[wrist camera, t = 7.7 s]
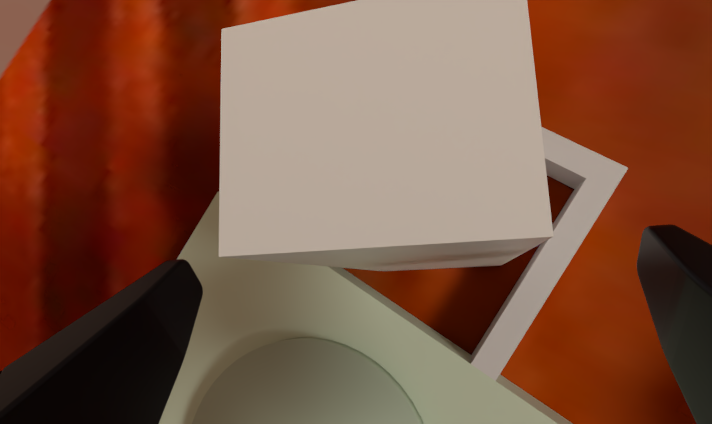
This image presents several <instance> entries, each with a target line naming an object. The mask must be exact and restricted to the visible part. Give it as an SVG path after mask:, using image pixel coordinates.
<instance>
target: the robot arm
mask: <svg viewBox="0 0 712 424" xmlns="http://www.w3.org/2000/svg"><path fill="white" fill-rule="evenodd" d="M637 272H638V276H639V279H640V282H641V285H642V288H643V291H644V294H645V297H646V301H647V304H648V307H649V310H650V313H651V316H652V319H653V322H654V325H655V328H656V331H657V334H658V337H659V340H660V343H661V346H662V349H663V352H664V354H665V357H666V359H667V361H668V363H669V366H670V368H671V370H672V372H673V374H674V377H675V379H676V381H677V383H678V385H679V387H680V389H681V391H682V393H683V396H684V398H685V400H686V402H687V404H688V406H689V408H690V410H691V413H692V415H693V417H694V419H695V421H696V423H697V424H712V245H711V244H709V243H707V242H705V241H703V240H701V239H700V238H698V237H696V236H694V235H692V234H690V233H689V232H687V231H685V230H683V229H681V228H679V227H677V226H675V225H656V226H648V227H646V228H645V229H644V231H643V234H642V238H641V244H640V249H639V254H638V260H637ZM202 296H203V288H202V285H201V283H200V281H199V279H198V277H197V276H196V274H195V272H194V270H193V269H192V267H191V265H190V264H189V262H188V261H186V260H184V259H177V260H168V261H166V262H164V263H162V264H161V265H159V266H158V267H156V268H155V269H153V270H152V271H150V272H149V273H147V274H146V275H144V276H143V277H141V278H140V279H138V280H137V281H135V282H134V283H132V284H131V285H129V286H128V287H126V288H125V289H123V290H122V291H120V292H118V293H117V294H115V295H114V296H112V297H111V298H109V299H108V300H106V301H105V302H103V303H102V304H100V305H99V306H97V307H96V308H94V309H93V310H91V311H90V312H88V313H87V314H85V315H84V316H82V317H81V318H79V319H78V320H76V321H75V322H73V323H72V324H70V325H69V326H67V327H66V328H64V329H63V330H61V331H59V332H58V333H56V334H55V335H53V336H52V337H50V338H49V339H47V340H46V341H44V342H43V343H41V344H40V345H38V346H37V347H35V348H34V349H32V350H31V351H29V352H28V353H26V354H25V355H23V356H22V357H20V358H19V359H17V360H16V361H14V362H13V363H11V364H10V365H8V366H7V367H5V368H4V369H3V371H0V424H159V422H160V419H161V417H162V414H163V412H164V409H165V407H166V404H167V402H168V399H169V396H170V394H171V391H172V389H173V386H174V384H175V381H176V379H177V376H178V374H179V371H180V369H181V366H182V363H183V361H184V358H185V355H186V352H187V348H188V345H189V342H190V338H191V335H192V331H193V328H194V324H195V321H196V317H197V314H198V310H199V307H200V303H201V300H202Z"/></svg>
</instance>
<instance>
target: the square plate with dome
mask: <svg viewBox="0 0 712 424" xmlns="http://www.w3.org/2000/svg"><path fill="white" fill-rule="evenodd" d="M541 129H542V138H543V147H544V156H545V165H546V173H547V176H549V177H551V178H553V179H555V180H557V181H559V182H561V183H563V184H565V185H567V186H569V187H571V188H573V189H574V191H573V192H572V194H571V196H570V197H569V199H568V201H567V202H566V204H565V205H564V207H563V209H562V210H561V212H560V213H559V215H558V217H557V218H556V220H555V221H554V223H553V225H552V227H553V235H554V237H552V238H550V239H548V240H547V241H545V242H543V243H541V244H540V246H539V247H538V249H537V250H536V252H535V254H534V255H533V257H532V258H531V260H530V262H529V263H528V265H527V266H526V268H525V270H524V271H523V273H522V275H521V276H520V278H519V279H518V281H517V283H516V284H515V286H514V287H513V289H512V291H511V292H510V294H509V295H508V297H507V299H506V300H505V302H504V303H503V305H502V307H501V308H500V310H499V312H498V313H497V315H496V316H495V318H494V320H493V321H492V323H491V324H490V326H489V328H488V329H487V331H486V332H485V334H484V336H483V337H482V339H481V341H480V342H479V344H478V345H477V347H476V349H475V350H474V352H473V353H472V355H471V354H469V353H468V352H466V351H465V350H463V349H462V348H460V347H459V346H457V345H456V344H454V343H453V342H451V341H450V340H448V339H447V338H445V337H444V336H442V335H441V334H439V333H438V332H436V331H435V330H434V329H432V328H431V327H429V326H428V325H426V324H425V323H423V322H422V321H420V320H419V319H417V318H416V317H414V316H413V315H411V314H410V313H408V312H407V311H405V310H404V309H402V308H401V307H399V306H398V305H397V304H395V303H394V302H392V301H391V300H389V299H388V298H386V297H385V296H383V295H382V294H380V293H379V292H377V291H376V290H374V289H373V288H371V287H370V286H368V285H367V284H365V283H364V282H362V281H361V280H360V279H358V278H357V277H355V276H354V275H352V274H351V273H349V272H348V271H346V270H345V269H343V268H341V267H329V266H318V265H306V264H295V263H283V262H272V261H260V260H249V259H237V258H226V257H219V192H217V194H216V195H215V197H214V199H213V200H212V202H211V204H210V205H209V207H208V209H207V210H206V212H205V214H204V215H203V217H202V218H201V220H200V222H199V223H198V225H197V227H196V228H195V230H194V232H193V233H192V235H191V237H190V238H189V240H188V241H187V243H186V245H185V246H184V248H183V250H182V251H181V253H180V255H179V256H178V258H177V259H184V260H186V261H188V262H189V264H190V265H191V267H192V269H193V270H194V272H195V274H196V276H197V277H198V279H199V281H200V283H201V285H202V288H203V296H202V300H201V303H200V307H199V310H198V314H197V317H196V321H195V324H194V328H193V331H192V335H191V338H190V342H189V345H188V348H187V352H186V355H185V358H184V361H183V363H182V366H181V369H180V371H179V374H178V376H177V379H176V381H175V384H174V386H173V389H172V391H171V394H170V396H169V399H168V402H167V404H166V407H165V409H164V412H163V414H162V417H161V419H160V422H159V424H573V423H571V422H570V421H568V420H567V419H565V418H564V417H562V416H561V415H559V414H558V413H556V412H555V411H553V410H552V409H550V408H549V407H547V406H546V405H545V404H543V403H542V402H540V401H539V400H537V399H536V398H534V397H533V396H531V395H530V394H528V393H527V392H525V391H524V390H522V389H521V388H519V387H518V386H516V385H515V384H513V383H512V382H510V381H509V380H508V379H506V378H505V377H503V376H502V375H500V373H501V371H502V370H503V368H504V367H505V365H506V363H507V362H508V360H509V359H510V357H511V355H512V354H513V352H514V351H515V349H516V347H517V346H518V344H519V343H520V341H521V339H522V338H523V336H524V335H525V333H526V331H527V330H528V328H529V326H530V325H531V323H532V322H533V320H534V318H535V317H536V315H537V314H538V312H539V310H540V309H541V307H542V306H543V304H544V302H545V301H546V299H547V298H548V296H549V294H550V293H551V291H552V290H553V288H554V286H555V285H556V283H557V282H558V280H559V278H560V277H561V275H562V274H563V272H564V270H565V269H566V267H567V265H568V264H569V262H570V261H571V259H572V257H573V256H574V254H575V253H576V251H577V249H578V248H579V246H580V245H581V243H582V241H583V240H584V238H585V237H586V235H587V233H588V232H589V230H590V229H591V227H592V225H593V224H594V222H595V221H596V219H597V217H598V216H599V214H600V213H601V211H602V209H603V208H604V206H605V204H606V203H607V201H608V200H609V198H610V196H611V195H612V193H613V192H614V190H615V188H616V187H617V185H618V184H619V182H620V180H621V179H622V177H623V176H624V174H625V172H626V171H627V169H628V168H627V167H625V166H623V165H621V164H619V163H617V162H615V161H612V160H610V159H608V158H606V157H604V156H602V155H600V154H598V153H596V152H593V151H591V150H589V149H587V148H585V147H583V146H581V145H579V144H576V143H574V142H572V141H570V140H568V139H566V138H564V137H562V136H560V135H557V134H555V133H553V132H551V131H549V130H547V129H545V128H543V127H541Z"/></svg>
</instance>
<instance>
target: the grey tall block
mask: <svg viewBox="0 0 712 424" xmlns="http://www.w3.org/2000/svg"><path fill="white" fill-rule="evenodd" d="M552 237H554V235H553V227H552V218H551V209H550V200H549V191H548V182H547V173H546V165H545V156H544V147H543V138H542V129H541V120H540V112H539V103H538V94H537V85H536V76H535V67H534V58H533V50H532V41H531V32H530V23H529V14H528V5H527V0H357V1H352V2H348V3H343V4H338V5H333V6H329V7H324V8H319V9H314V10H310V11H305V12H300V13H295V14H291V15H286V16H281V17H276V18H272V19H267V20H262V21H257V22H253V23H248V24H243V25H239V26H234V27H229V28H224V29H222V34H221V111H220V188H219V257H226V258H237V259H249V260H260V261H272V262H283V263H295V264H306V265H318V266H329V267H341V268H352V269H364V270H376V271H398V270H420V269H442V268H463V267H485V266H501V265H503V264H505V263H507V262H509V261H510V260H512V259H514V258H516V257H518V256H519V255H521V254H523V253H525V252H527V251H529V250H530V249H532V248H534V247H536V246H538V245H539V244H541V243H543V242H545V241H547V240H548V239H550V238H552Z"/></svg>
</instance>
